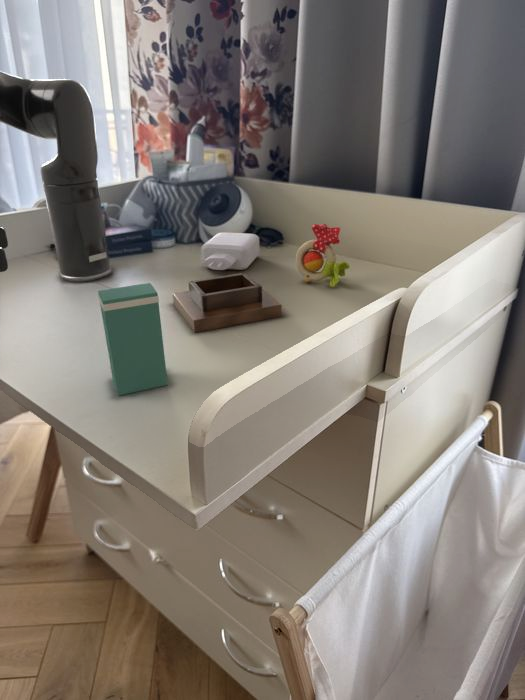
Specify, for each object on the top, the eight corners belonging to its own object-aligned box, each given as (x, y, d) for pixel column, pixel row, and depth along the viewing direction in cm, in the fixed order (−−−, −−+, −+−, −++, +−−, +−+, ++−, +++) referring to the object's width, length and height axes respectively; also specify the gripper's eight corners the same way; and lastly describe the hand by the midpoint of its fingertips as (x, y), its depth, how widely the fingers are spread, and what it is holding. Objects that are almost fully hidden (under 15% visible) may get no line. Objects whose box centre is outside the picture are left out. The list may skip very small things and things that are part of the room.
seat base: (194, 332, 79) (192, 304, 77) (173, 304, 89) (170, 278, 87) (281, 316, 84) (281, 289, 82) (252, 291, 94) (251, 266, 92)
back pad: (117, 396, 64) (102, 301, 58) (112, 381, 67) (97, 290, 61) (168, 385, 66) (158, 292, 61) (161, 371, 69) (150, 282, 64)
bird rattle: (304, 299, 96) (352, 283, 92) (279, 241, 92) (328, 222, 88) (311, 287, 101) (357, 272, 97) (288, 232, 98) (335, 214, 94)
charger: (190, 277, 101) (217, 254, 114) (238, 281, 99) (259, 256, 111) (188, 253, 99) (215, 231, 111) (237, 256, 96) (259, 234, 109)
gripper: (-237, 248, 41) (-4, 224, 47) (-183, 211, 53) (-2, 196, 58) (-198, 337, 44) (15, 306, 50) (-155, 284, 56) (14, 263, 62)
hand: (6, 247), depth 54 cm, fingers open, 8 cm apart
